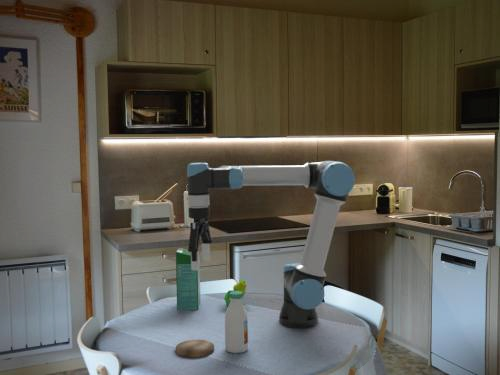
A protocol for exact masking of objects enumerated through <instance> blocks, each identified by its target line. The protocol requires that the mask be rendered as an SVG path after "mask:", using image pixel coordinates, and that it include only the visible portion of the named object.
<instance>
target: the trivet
mask: <svg viewBox="0 0 500 375" xmlns="http://www.w3.org/2000/svg"><path fill="white" fill-rule="evenodd" d="M214 351H215V344H214V343H213V342H211V341H210V340H209V341H208V340H205V339H190V340H184V341H182V342H179V343H178V344H176V345H175V353H176V354H177V356H179V357H183V358H189V359H194V358H195V359H196V358H203V357H207V356H209V355H211V354H212V353H214Z"/></svg>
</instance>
